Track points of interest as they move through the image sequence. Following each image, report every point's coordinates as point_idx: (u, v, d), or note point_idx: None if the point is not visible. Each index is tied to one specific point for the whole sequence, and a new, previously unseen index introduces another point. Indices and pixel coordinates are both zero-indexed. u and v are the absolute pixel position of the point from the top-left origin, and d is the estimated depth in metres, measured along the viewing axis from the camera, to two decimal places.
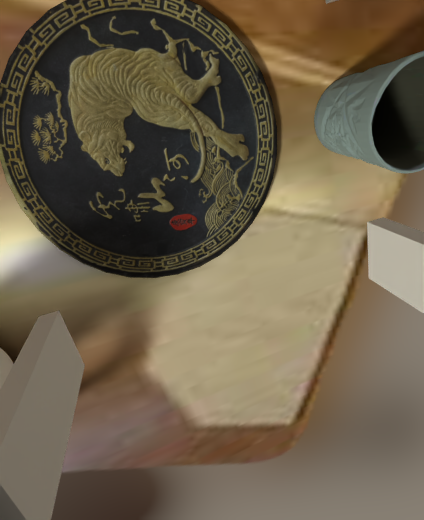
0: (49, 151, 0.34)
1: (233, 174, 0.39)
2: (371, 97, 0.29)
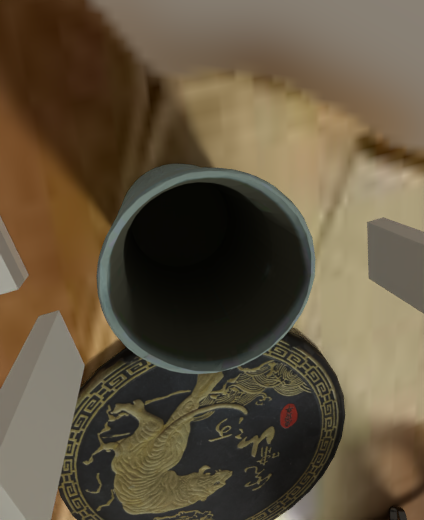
0: (204, 519, 0.37)
1: (244, 372, 0.31)
2: None
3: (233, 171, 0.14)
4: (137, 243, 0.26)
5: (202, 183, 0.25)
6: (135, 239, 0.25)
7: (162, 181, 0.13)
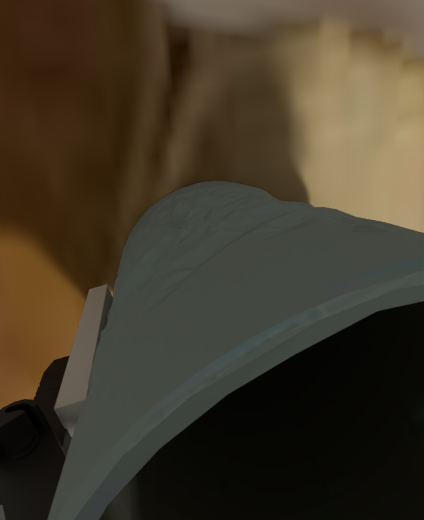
0: None
1: None
2: None
3: None
4: None
5: None
6: None
7: (285, 328, 0.03)
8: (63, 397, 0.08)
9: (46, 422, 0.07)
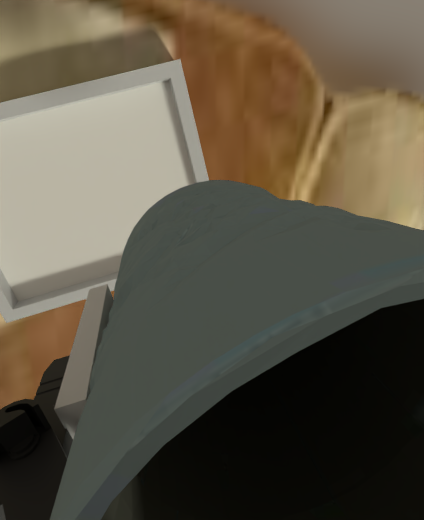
0: None
1: None
2: None
3: None
4: None
5: None
6: None
7: (289, 325, 0.03)
8: (63, 397, 0.08)
9: (46, 422, 0.07)
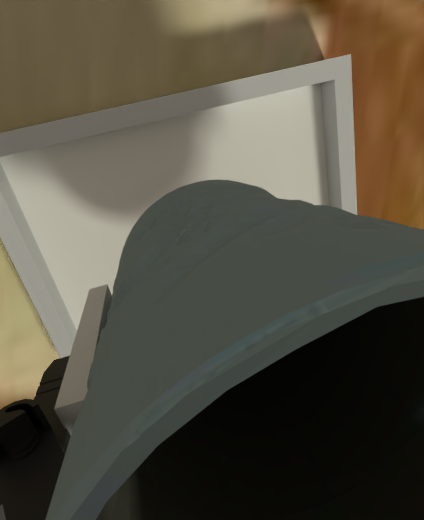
0: None
1: None
2: None
3: None
4: None
5: None
6: None
7: (284, 324, 0.03)
8: (63, 397, 0.08)
9: (46, 422, 0.07)
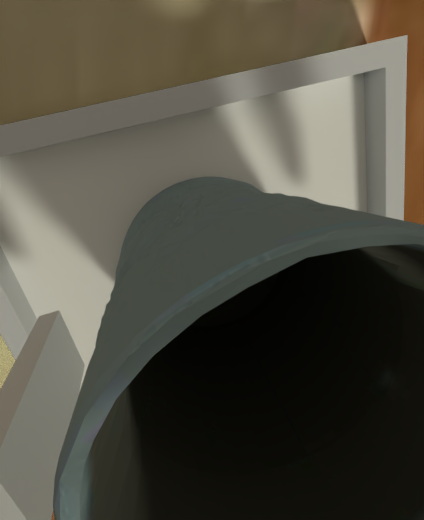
0: None
1: None
2: None
3: None
4: None
5: None
6: None
7: (240, 268, 0.04)
8: None
9: None
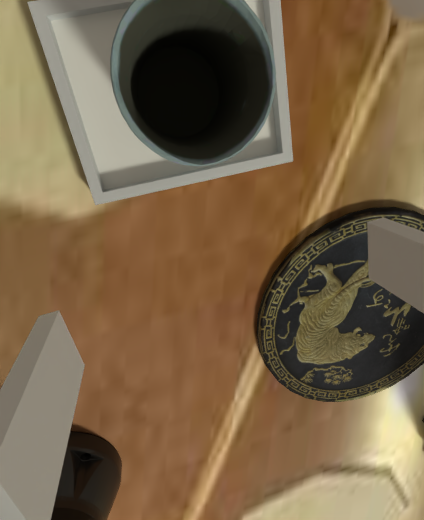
0: (345, 376, 0.49)
1: None
2: None
3: None
4: (142, 110, 0.31)
5: (198, 59, 0.30)
6: (140, 106, 0.30)
7: None
8: None
9: None
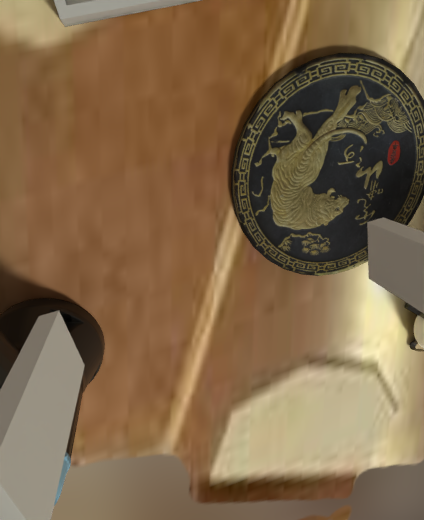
0: (323, 246, 0.50)
1: (369, 102, 0.43)
2: None
3: None
4: None
5: None
6: None
7: None
8: None
9: None
